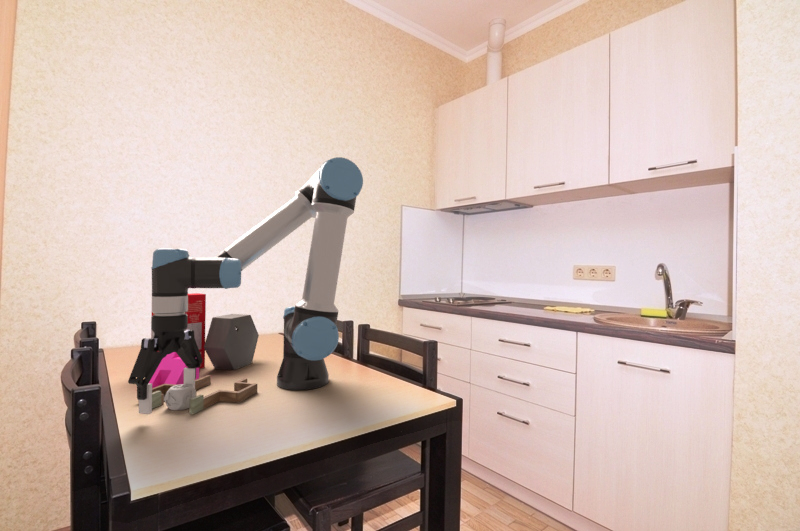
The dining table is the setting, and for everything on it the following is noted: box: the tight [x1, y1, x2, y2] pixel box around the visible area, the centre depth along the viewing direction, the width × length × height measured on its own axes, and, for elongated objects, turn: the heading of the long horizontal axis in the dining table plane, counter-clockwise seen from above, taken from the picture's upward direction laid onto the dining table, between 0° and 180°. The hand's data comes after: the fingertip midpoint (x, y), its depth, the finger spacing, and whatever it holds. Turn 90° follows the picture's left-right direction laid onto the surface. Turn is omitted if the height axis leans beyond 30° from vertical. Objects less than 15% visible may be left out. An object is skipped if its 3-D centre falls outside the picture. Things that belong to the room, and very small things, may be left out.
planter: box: [204, 313, 260, 371], centre depth 140 cm, size 17×8×21 cm
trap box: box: [137, 374, 258, 415], centre depth 107 cm, size 24×22×4 cm
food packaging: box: [150, 292, 207, 370], centre depth 133 cm, size 15×5×25 cm, turn 145°
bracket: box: [149, 352, 200, 388], centre depth 117 cm, size 12×10×10 cm
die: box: [164, 384, 197, 411], centre depth 100 cm, size 5×5×5 cm
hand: (168, 403), depth 96 cm, fingers open, 13 cm apart
